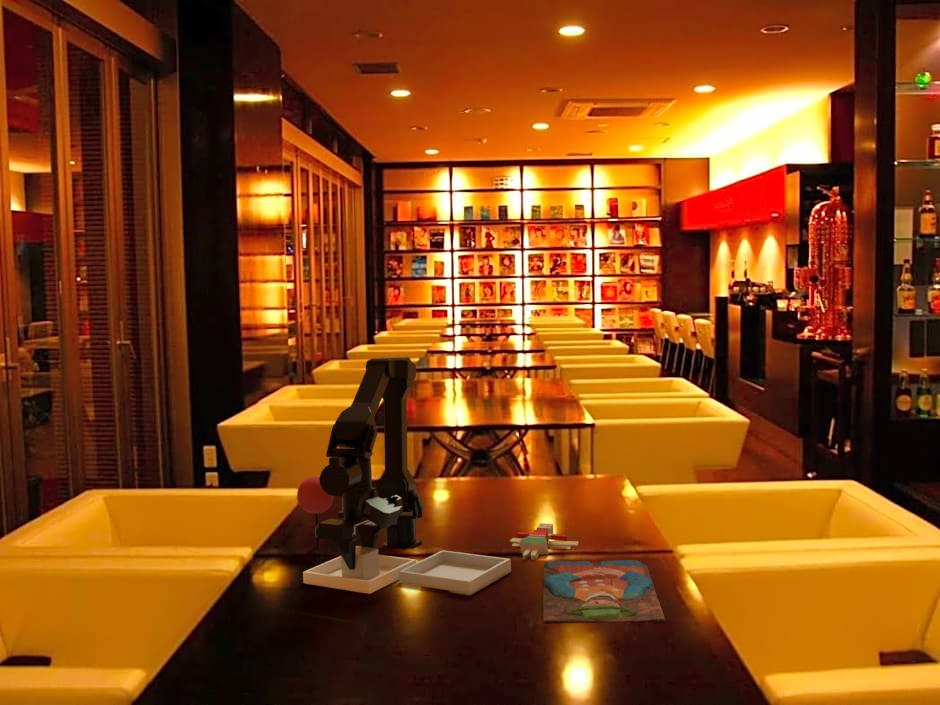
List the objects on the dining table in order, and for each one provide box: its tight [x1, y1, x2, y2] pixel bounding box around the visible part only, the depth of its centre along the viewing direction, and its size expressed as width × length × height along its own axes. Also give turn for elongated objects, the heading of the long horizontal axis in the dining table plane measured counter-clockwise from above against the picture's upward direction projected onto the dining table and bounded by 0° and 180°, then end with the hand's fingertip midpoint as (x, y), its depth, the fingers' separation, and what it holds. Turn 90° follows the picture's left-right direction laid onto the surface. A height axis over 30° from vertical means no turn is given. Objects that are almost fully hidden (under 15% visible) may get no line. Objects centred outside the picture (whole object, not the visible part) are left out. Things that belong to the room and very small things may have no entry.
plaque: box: [542, 559, 666, 624], centre depth 179 cm, size 20×2×30 cm
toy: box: [509, 522, 579, 561], centre depth 207 cm, size 15×4×15 cm
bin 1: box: [302, 554, 417, 595], centre depth 192 cm, size 15×15×2 cm
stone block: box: [340, 545, 380, 580], centre depth 192 cm, size 5×5×5 cm
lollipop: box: [296, 476, 335, 548], centre depth 215 cm, size 8×8×15 cm
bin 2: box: [398, 550, 512, 596], centre depth 190 cm, size 15×15×2 cm
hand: (360, 565), depth 192 cm, fingers closed on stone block, 5 cm apart
